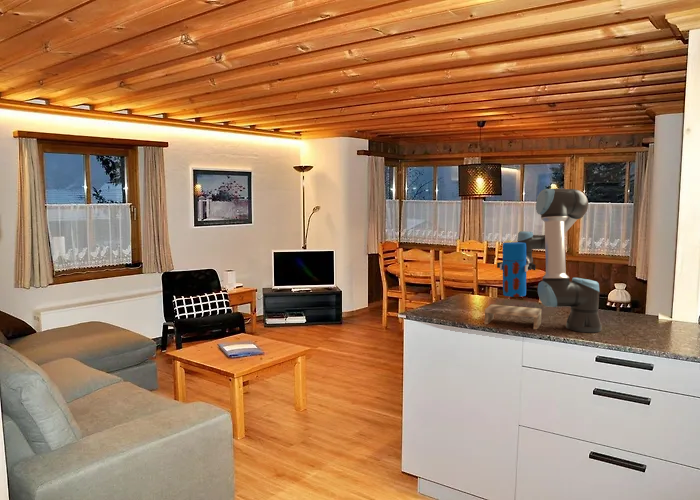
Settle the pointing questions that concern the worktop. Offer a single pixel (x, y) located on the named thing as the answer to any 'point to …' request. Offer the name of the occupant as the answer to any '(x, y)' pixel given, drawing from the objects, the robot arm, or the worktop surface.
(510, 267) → the thermos
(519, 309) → the stool
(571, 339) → the worktop surface
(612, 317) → the worktop surface
